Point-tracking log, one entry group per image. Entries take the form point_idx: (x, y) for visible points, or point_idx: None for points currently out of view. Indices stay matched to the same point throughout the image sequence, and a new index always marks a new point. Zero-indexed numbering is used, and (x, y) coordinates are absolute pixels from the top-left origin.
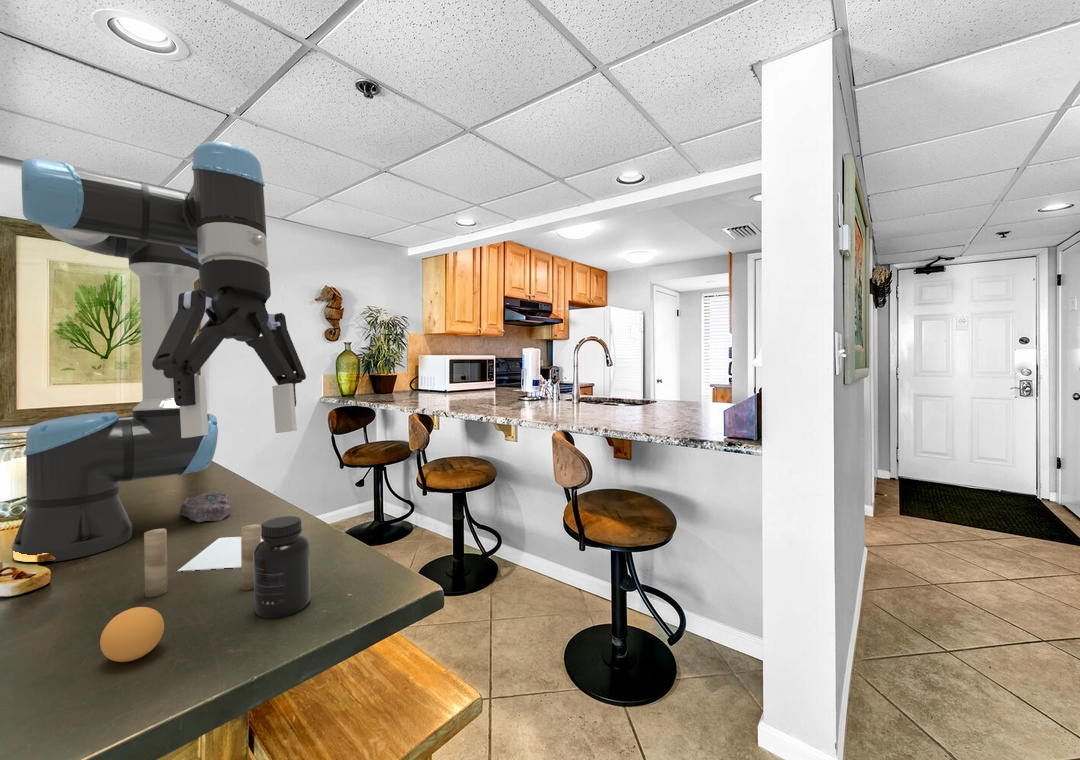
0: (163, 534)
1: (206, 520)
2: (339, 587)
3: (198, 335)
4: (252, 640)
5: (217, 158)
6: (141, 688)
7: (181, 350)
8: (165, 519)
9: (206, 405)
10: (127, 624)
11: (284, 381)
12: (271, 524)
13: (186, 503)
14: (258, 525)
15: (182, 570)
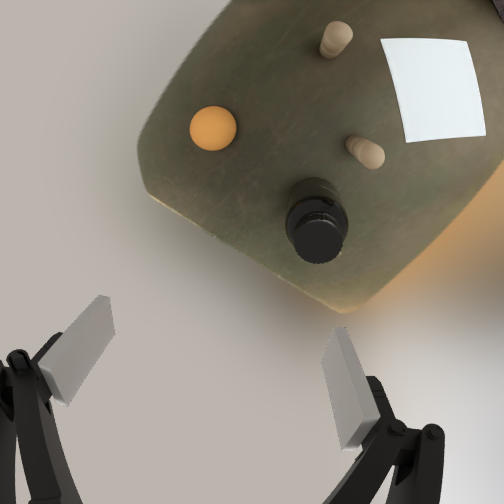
0: (339, 44)
1: (498, 10)
2: (354, 238)
3: (27, 483)
4: (255, 207)
5: None
6: (189, 167)
7: (8, 420)
8: None
9: (93, 365)
10: (195, 138)
11: (369, 443)
12: (306, 235)
13: None
14: (380, 162)
15: (382, 43)
